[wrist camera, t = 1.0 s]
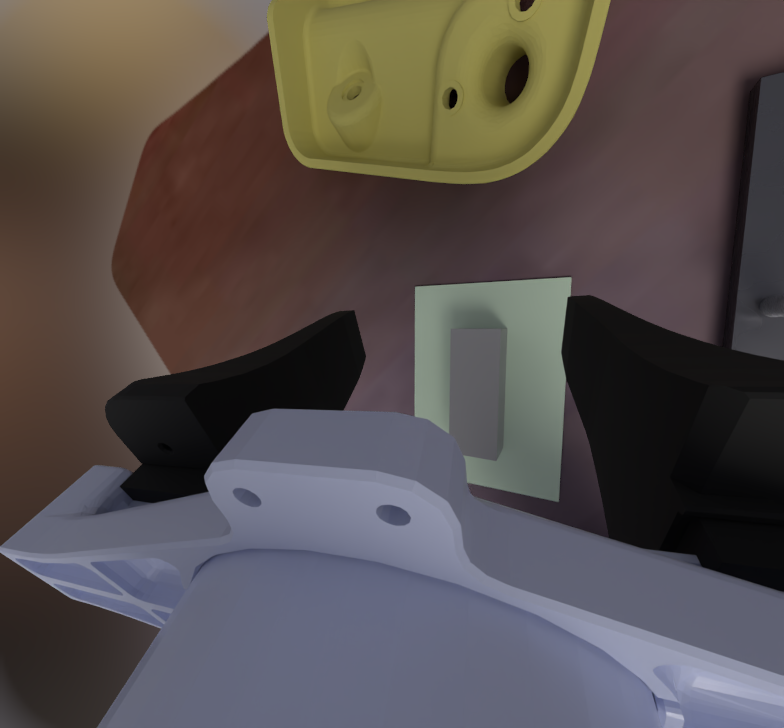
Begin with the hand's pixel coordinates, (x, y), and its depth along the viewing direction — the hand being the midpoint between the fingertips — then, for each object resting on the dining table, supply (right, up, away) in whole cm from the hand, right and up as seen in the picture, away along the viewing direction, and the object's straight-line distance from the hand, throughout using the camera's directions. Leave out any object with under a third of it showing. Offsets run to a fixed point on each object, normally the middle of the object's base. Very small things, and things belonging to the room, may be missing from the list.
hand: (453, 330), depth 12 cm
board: (+4, -3, +12) cm, 13 cm away
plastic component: (+1, +16, +11) cm, 20 cm away
